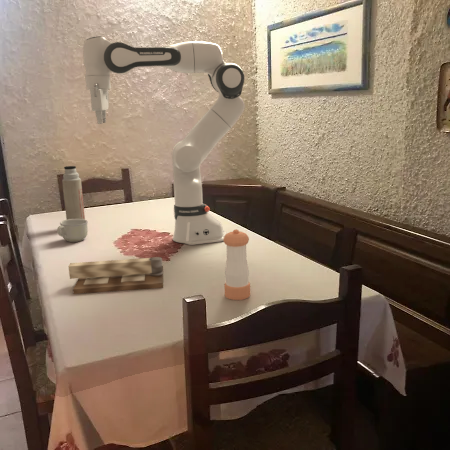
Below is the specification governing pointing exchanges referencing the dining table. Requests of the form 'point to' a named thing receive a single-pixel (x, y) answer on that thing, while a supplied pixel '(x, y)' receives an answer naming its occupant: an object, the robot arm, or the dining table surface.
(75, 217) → the thermos bottle
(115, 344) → the dining table surface
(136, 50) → the robot arm
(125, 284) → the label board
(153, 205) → the dining table surface
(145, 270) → the swing bar
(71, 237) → the teacup
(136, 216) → the dining table surface
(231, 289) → the pepper shaker
